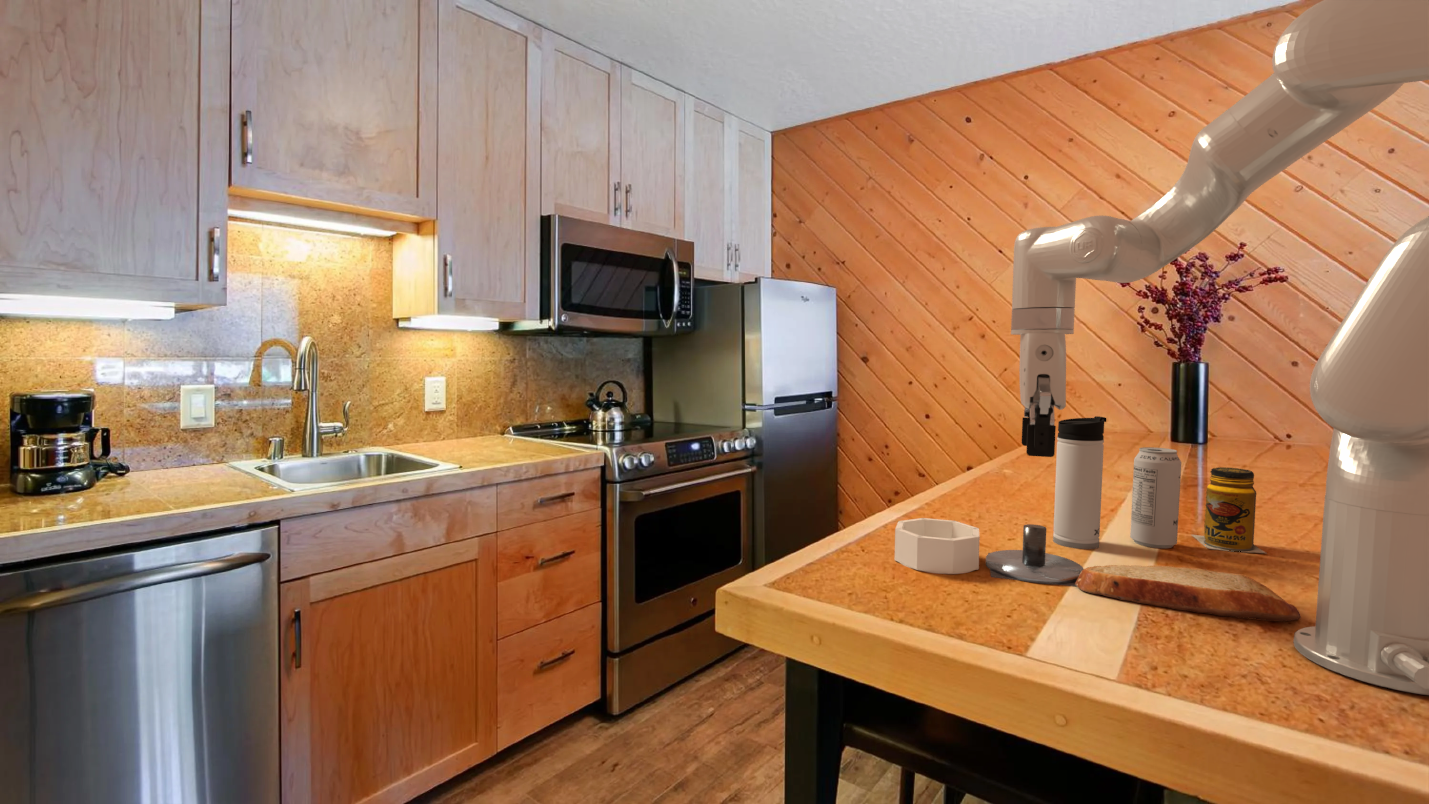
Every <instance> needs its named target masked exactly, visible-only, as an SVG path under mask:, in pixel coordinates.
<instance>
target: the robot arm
mask: <svg viewBox="0 0 1429 804" xmlns="http://www.w3.org/2000/svg"><path fill="white" fill-rule="evenodd" d="M1271 63H1272V71H1273V73H1272V74H1271V75H1269V77H1267V78H1266V79H1264V81H1262V82H1261V83H1260V84H1258V85H1257V86H1256V87H1255V88H1253V89H1252V90H1251V91H1249V92H1248V93H1247V94H1246V95H1244V96H1243V97H1242V98H1240V99H1239V100H1238V101H1237V102H1236V103H1234V104H1233V105H1232V106H1230V107H1229V108H1228V109H1226V110H1225V111H1224V112H1222V113H1221V114H1220V115H1218V116H1217V117H1216V118H1215V119H1213V120H1212V121H1211V122H1209V123H1208V124H1206V126H1205V127H1203V128H1202V129H1201V130H1200V131H1199V132H1198V133H1197V134H1196V136H1195V137H1194V140H1193V141H1192V145H1191V146H1190V147H1191V148H1190V152H1189V155H1188V158H1187V159H1188V160H1187V163H1186V166H1185V168H1184V170H1183V172H1182V174H1181V176H1180V177H1179V179H1178V180H1177V181H1176V183H1175V184H1174V185H1173V186H1172V187H1171V188H1170V189H1169V190H1167V192H1166V193H1165V194H1164V195H1163V196H1162V197H1161V198H1159V199H1158V200H1157V201H1156V202H1154V203H1153V204H1152V205H1151V206H1149V207H1148V208H1146V209H1145V210H1144V211H1143V212H1141V213H1140V214H1138V215H1137V216H1135V217H1133V219H1131V220H1127V219H1122V218H1118V217H1114V216H1110V215H1093V216H1089V217H1088V216H1087V217H1085V218H1081V219H1078V220H1075V221H1071V222H1068V223H1065V224H1062V225H1061V224H1060V225H1057V226H1044V227H1041V226H1040V227H1035V228H1029V229H1027V230H1024V231H1021V232H1019V233H1018V235H1017V236H1016V237H1015V240H1014V243H1013V244H1014V245H1013V246H1014V247H1013V268H1012V269H1013V270H1012V294H1011V295H1012V296H1011V297H1012V298H1011V301H1012V302H1011V319H1010V320H1011V323H1010V324H1011V326H1010V327H1011V328H1010V335H1015V336H1016V335H1018V336H1020V338H1019V339H1020V340H1019V341H1020V342H1019V394H1020V403H1021V405H1022V406H1024V410H1023V411H1024V412H1023V416H1024V417H1022V423H1021V425H1022V426H1021V445H1023V446H1024V447H1026V455H1027V456H1029V457H1045V458H1053V457H1054V456H1055V453H1056V452H1055V451H1056V450H1055V449H1056V428H1057V426H1056V425H1055V419H1056V417H1055V408H1056V409H1057V410H1061V411H1062V410H1063V409H1065V408H1066V406H1067V402H1066V401H1067V400H1066V399H1067V391H1066V389H1067V387H1066V386H1067V384H1066V383H1067V344H1066V343H1067V341H1066V335H1073V334H1074V333H1075V330H1074V329H1075V313H1076V311H1075V307H1076V291H1077V290H1076V288H1077V287H1076V285H1077V279H1083V280H1084V279H1086V280H1087V279H1088V280H1093V281H1101V282H1102V281H1103V282H1111V283H1116V284H1117V283H1120V284H1127V283H1128V284H1129V283H1134V282H1137V281H1141V280H1142V279H1145V278H1146V277H1149V276H1151V275H1153V274H1155V273H1156V272H1158V271H1160V270H1161V269H1162V268H1165V266H1167V265H1168V264H1170V263H1171V262H1173V261H1175V260H1176V259H1178V258H1179V257H1181V256H1182V255H1184V254H1185V253H1187V252H1188V251H1190V250H1191V249H1193V248H1194V247H1195V246H1197V245H1198V244H1200V243H1201V242H1202V241H1203V240H1205V239H1206V238H1208V237H1209V236H1210V235H1212V233H1213V232H1214V231H1216V229H1218V228H1219V227H1220V226H1221V225H1222V224H1223V223H1224V222H1225V221H1226V220H1227V219H1228V218H1229V217H1230V216H1231V215H1232V214H1234V213H1235V211H1237V210H1238V209H1239V208H1240V207H1241V206H1242V205H1243V203H1244V202H1245V201H1246V200H1247V199H1248V198H1249V196H1251V194H1253V192H1255V191H1256V190H1257V189H1259V188H1260V187H1261V186H1263V185H1264V184H1266V183H1267V182H1268V181H1270V180H1271V179H1273V178H1275V177H1276V176H1277V175H1278V174H1280V173H1281V172H1283V171H1285V170H1286V169H1288V167H1290V166H1292V165H1293V164H1294V163H1296V162H1297V161H1299V160H1300V159H1302V158H1303V157H1305V156H1306V155H1308V154H1309V153H1310V152H1312V151H1313V150H1315V149H1317V147H1320V146H1321V145H1322V144H1324V143H1325V142H1326V141H1328V140H1330V139H1331V138H1332V137H1335V135H1337V134H1339V133H1340V132H1341V131H1343V130H1345V129H1346V128H1348V127H1349V126H1350V125H1351V124H1353V123H1354V122H1356V121H1358V120H1359V119H1360V118H1362V117H1364V115H1366V114H1368V113H1370V112H1371V111H1372V110H1373V109H1375V108H1376V107H1378V106H1380V105H1381V104H1382V103H1383V102H1384V101H1386V100H1388V99H1389V98H1390V97H1392V96H1393V95H1394V94H1395V93H1396V92H1398V90H1399V89H1401V87H1402V86H1403V85H1404V84H1406V83H1416V82H1423V81H1429V0H1321V1H1319V2H1317V3H1315V4H1314V5H1313V6H1311V7H1309V8H1308V9H1306V10H1304V11H1303V12H1302V13H1301V14H1300V15H1298V16H1297V17H1296V18H1295V19H1293V20H1292V22H1291V23H1290V24H1289V25H1287V27H1286V28H1285V29H1284V31H1283V32H1282V33H1281V35H1280V36H1279V38H1278V40H1277V42H1276V44H1275V46H1274V49H1273V53H1272V59H1271ZM1309 394H1310V399H1311V402H1312V404H1313V407H1314V409H1315V411H1316V412H1317V414H1318V415H1319V416H1320V417H1321V418H1322V420H1323V421H1324V422H1326V423H1327V425H1329V426H1330V427H1332V428H1333V430H1332V436H1331V441H1330V447H1329V454H1328V455H1329V456H1328V462H1327V463H1328V464H1327V470H1326V471H1327V472H1326V481H1325V494H1324V505H1323V515H1322V530H1321V543H1320V544H1321V545H1320V559H1319V573H1318V586H1317V599H1316V600H1317V601H1316V615H1315V626H1307V627H1303V628H1300V629H1298V630H1296V631H1295V632H1294V634H1293V646H1294V648H1295V649H1296V650H1297V651H1298V653H1300V655H1302V656H1304V657H1305V658H1307V659H1308V660H1310V661H1311V662H1313V663H1315V664H1316V665H1319V666H1321V667H1323V668H1325V669H1327V670H1330V671H1332V672H1334V673H1338V674H1340V675H1343V676H1345V677H1349V678H1352V679H1354V680H1358V681H1360V682H1364V683H1368V684H1371V685H1375V686H1379V687H1383V688H1386V689H1387V688H1388V689H1389V690H1390V689H1391V690H1396V691H1401V692H1405V693H1409V694H1410V693H1411V694H1417V695H1424V696H1429V216H1426V217H1425V218H1423V219H1421V220H1420V221H1418V222H1416V223H1415V224H1413V226H1411V227H1409V228H1408V229H1407V230H1406V231H1405V232H1404V233H1403V234H1402V235H1401V236H1400V237H1399V238H1398V239H1397V240H1396V241H1395V242H1394V243H1393V244H1392V246H1391V247H1390V248H1389V249H1388V250H1387V252H1386V253H1385V254H1384V255H1383V257H1382V259H1381V260H1380V261H1379V263H1378V265H1377V266H1376V268H1375V269H1374V271H1373V272H1372V273H1371V275H1370V277H1369V279H1368V281H1367V282H1366V283H1365V285H1364V286H1363V289H1361V291H1360V293H1359V295H1358V296H1357V298H1356V299H1355V300H1354V302H1353V303H1352V305H1351V307H1350V309H1349V310H1348V312H1347V313H1346V315H1345V316H1344V318H1343V319H1342V321H1341V323H1339V326H1338V327H1337V329H1336V330H1335V331H1334V334H1333V335H1332V337H1331V338H1330V340H1329V341H1328V343H1327V344H1326V346H1325V348H1324V349H1323V350H1322V352H1321V354H1320V356H1319V358H1318V359H1317V361H1316V363H1315V365H1314V367H1313V370H1312V372H1311V375H1310V381H1309Z"/></svg>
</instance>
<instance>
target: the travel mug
mask: <svg viewBox="0 0 1429 804" xmlns="http://www.w3.org/2000/svg"><path fill="white" fill-rule="evenodd" d="M1105 423H1107V417H1105V416H1098V415H1097V416H1093V417H1076V418H1075V417H1074V418H1067V419H1061V420H1058V425H1057V426H1058V427H1057V431H1058V433H1057V439H1056V440H1057V442H1056V462H1055V463H1056V464H1055V465H1056V466H1055V485H1054V511H1053V512H1054V514H1053V535H1052V536H1053V537H1052V541H1053V543H1054V544H1056V545H1059V546H1061V547H1066V548H1069V549H1077V550H1095V549H1099V547H1100V535H1101V533H1100V531H1101V513H1102V512H1101V511H1102V509H1101V508H1102V493H1103V492H1102V489H1103V488H1102V487H1103V472H1104V471H1103V467H1104V465H1103V464H1104V449H1105V448H1104V443H1105V440H1104V438H1105V437H1104V433H1105Z"/></svg>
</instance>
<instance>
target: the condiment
mask: <svg viewBox="0 0 1429 804" xmlns="http://www.w3.org/2000/svg"><path fill="white" fill-rule="evenodd" d="M1210 473H1211V474H1210V478H1209V481H1210V483H1209V484H1208V485H1207V487H1206V493H1205V494H1206V495H1205V509H1204V511H1205V513H1204V525H1203V526H1204V531H1203V532H1204V535H1199V534H1198V535H1197V534H1191V536H1192V538H1194V539H1195V540H1197V541H1198V542H1199V544H1201V545H1202V546H1203V547H1205V548H1206V549H1209V550H1219V551H1224V552H1225V551H1226V552H1234V551H1239V552H1238V553H1257V554H1266V555H1267V554H1268V553H1267V552H1266V551H1264V550H1262V549H1261V548H1259V547H1258V546H1256V545H1255V540H1254V539H1255V526H1256V524H1255V523H1256V504H1257V503H1256V502H1257V490H1256V489H1255V488H1254V484H1255V481H1254V478H1255V473H1254V471H1252V470H1249V469H1245V468H1236V467H1227V466H1226V467H1220V466H1219V467H1213V468H1211V469H1210ZM1205 544H1206V545H1205ZM1229 550H1231V551H1229ZM1240 551H1241V552H1240Z"/></svg>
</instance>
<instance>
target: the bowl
mask: <svg viewBox="0 0 1429 804" xmlns="http://www.w3.org/2000/svg"><path fill="white" fill-rule="evenodd" d="M980 538H981V537H980V528H979V527H976V526H973V525H970V524H966V523H964V522H961V521H960V522H959V521H958V520H957V521H956V520H951V519H949V520H948V519H937V518H929V517H928V518H927V517H920V518H912V519H905V520H898V522H897V523H896V526H895V529H894V561H896V562H897V563H900V564H901V565H902V566H904V567H907V568H909V569H912V570H915V571H920V572H925V573H931V574H939V575H942V574H943V575H959V574H966V573H970V572H973V571H977V570H979V569H980V566H979V565H980V540H981V539H980Z"/></svg>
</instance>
